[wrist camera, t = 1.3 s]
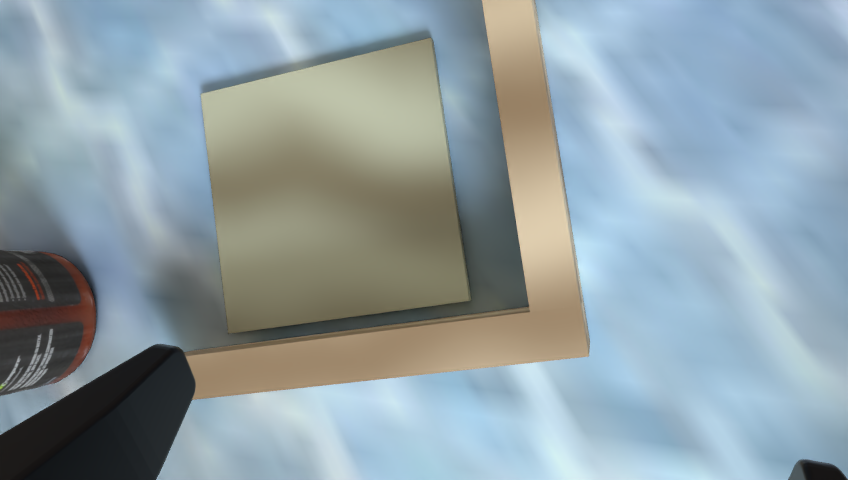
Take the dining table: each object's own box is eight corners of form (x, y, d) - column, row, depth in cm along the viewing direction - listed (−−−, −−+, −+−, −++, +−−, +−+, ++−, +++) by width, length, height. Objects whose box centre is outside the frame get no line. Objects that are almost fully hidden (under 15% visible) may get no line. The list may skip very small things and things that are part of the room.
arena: (589, 341, 23) (588, 356, 19) (196, 386, 27) (129, 406, 23) (529, -36, 24) (516, -95, 20) (160, 61, 28) (90, 28, 24)
